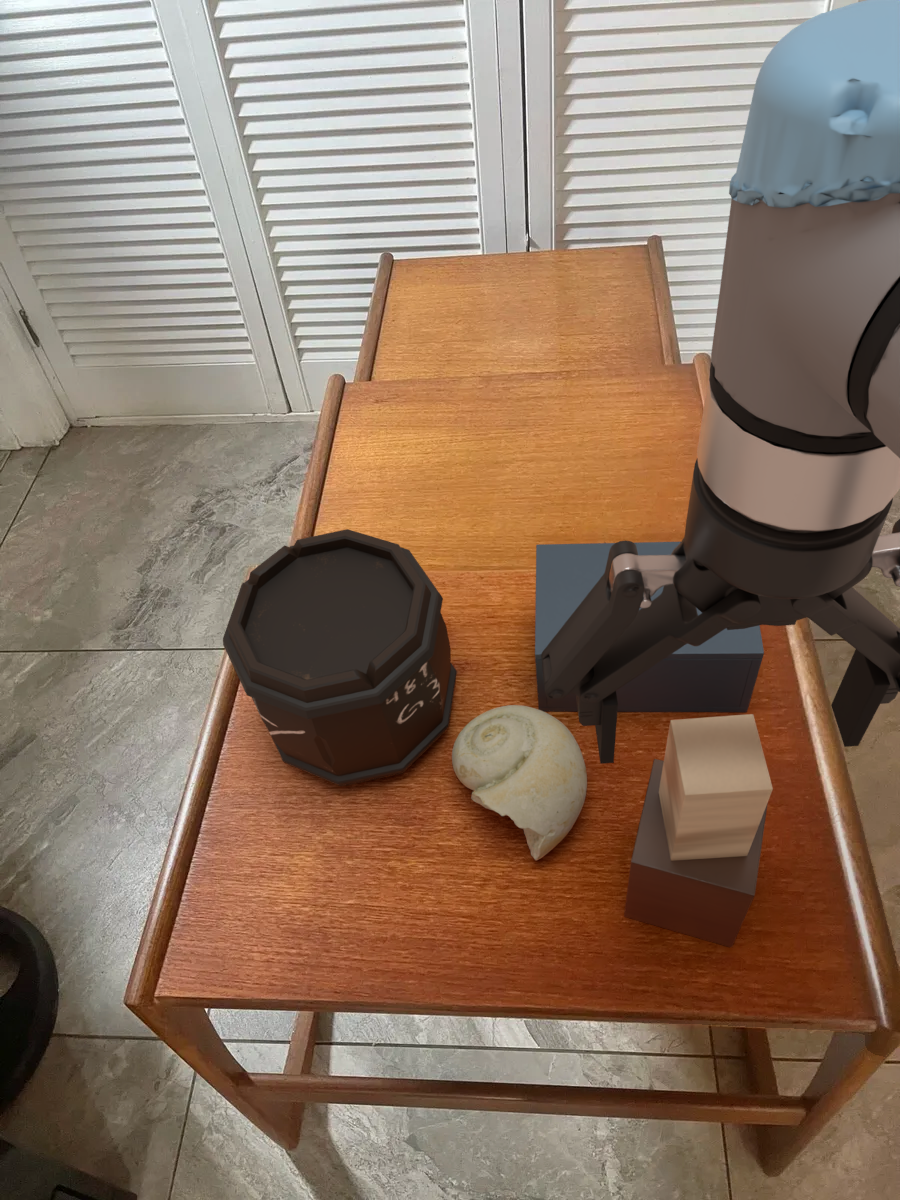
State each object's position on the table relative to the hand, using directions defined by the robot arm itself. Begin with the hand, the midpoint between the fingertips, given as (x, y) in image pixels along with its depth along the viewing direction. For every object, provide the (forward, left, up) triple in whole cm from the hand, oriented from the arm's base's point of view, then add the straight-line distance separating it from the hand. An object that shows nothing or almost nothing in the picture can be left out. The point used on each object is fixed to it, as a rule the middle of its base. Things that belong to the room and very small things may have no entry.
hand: (723, 734), depth 52 cm
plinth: (0, 0, -23) cm, 23 cm away
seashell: (+4, +14, -23) cm, 27 cm away
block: (0, 0, -12) cm, 12 cm away
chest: (+19, +8, -23) cm, 31 cm away
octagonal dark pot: (+8, +31, -23) cm, 39 cm away
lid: (+19, +8, -15) cm, 25 cm away
